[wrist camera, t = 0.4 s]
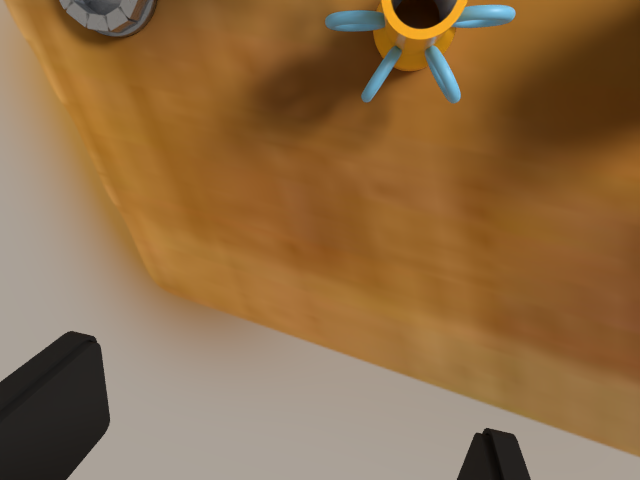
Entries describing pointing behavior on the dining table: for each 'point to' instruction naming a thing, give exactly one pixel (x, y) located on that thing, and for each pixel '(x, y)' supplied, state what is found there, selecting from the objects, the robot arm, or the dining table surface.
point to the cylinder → (417, 35)
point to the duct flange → (111, 15)
